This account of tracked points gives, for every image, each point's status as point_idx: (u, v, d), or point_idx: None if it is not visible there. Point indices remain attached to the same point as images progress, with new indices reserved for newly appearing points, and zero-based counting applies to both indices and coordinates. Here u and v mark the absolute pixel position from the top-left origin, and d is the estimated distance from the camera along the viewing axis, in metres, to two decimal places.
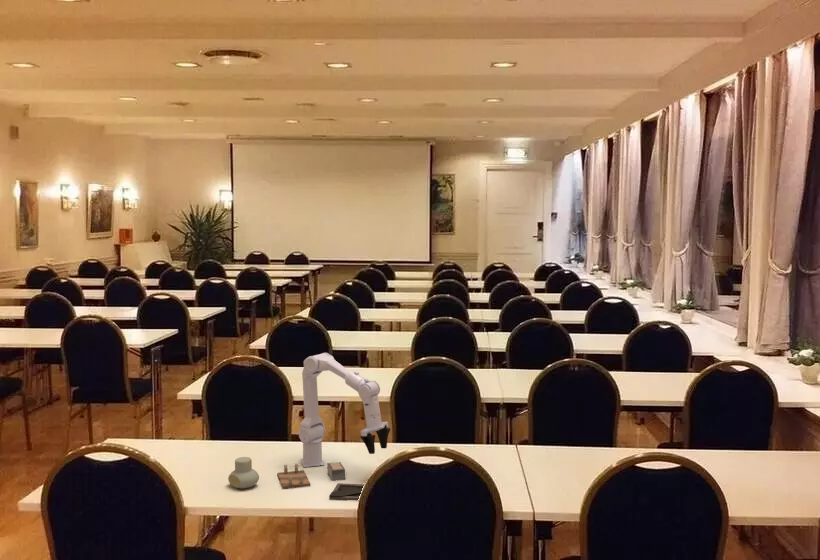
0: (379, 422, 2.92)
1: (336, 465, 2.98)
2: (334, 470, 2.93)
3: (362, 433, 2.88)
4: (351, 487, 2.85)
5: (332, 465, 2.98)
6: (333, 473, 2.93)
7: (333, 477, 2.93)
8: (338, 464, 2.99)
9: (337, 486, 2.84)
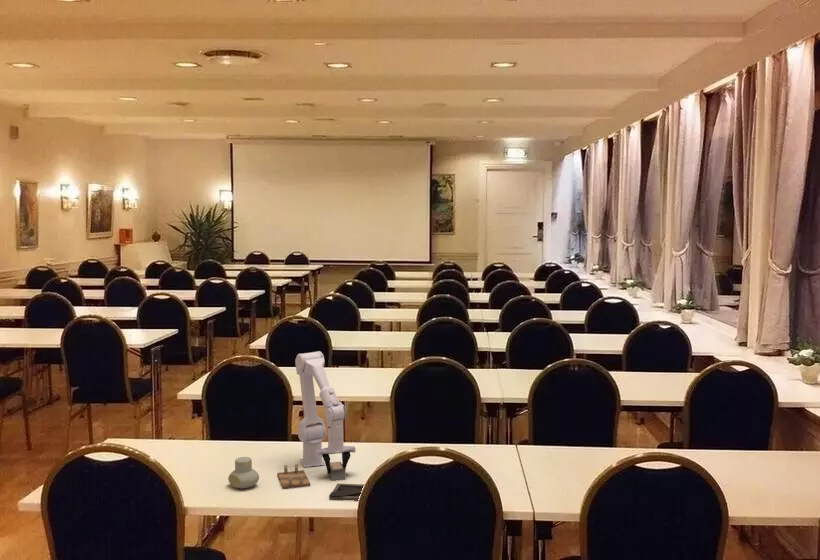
0: (336, 447, 2.94)
1: (336, 464, 2.98)
2: (334, 469, 2.93)
3: (316, 452, 2.95)
4: (351, 487, 2.84)
5: (332, 464, 2.98)
6: (333, 472, 2.93)
7: (333, 476, 2.93)
8: (338, 463, 2.99)
9: (337, 486, 2.84)
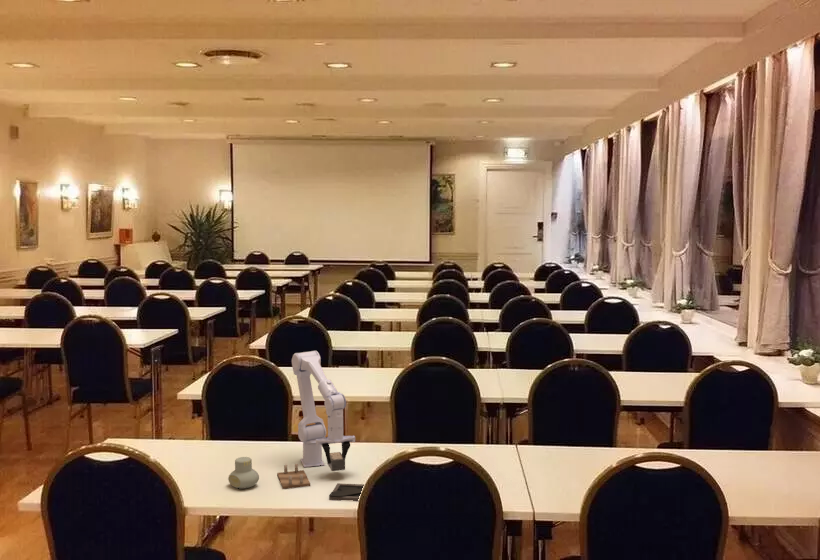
0: (336, 436, 2.94)
1: (336, 455, 2.98)
2: (334, 460, 2.93)
3: (316, 441, 2.95)
4: (351, 487, 2.84)
5: (332, 455, 2.98)
6: (333, 463, 2.92)
7: (333, 467, 2.93)
8: (338, 454, 2.99)
9: (337, 486, 2.84)
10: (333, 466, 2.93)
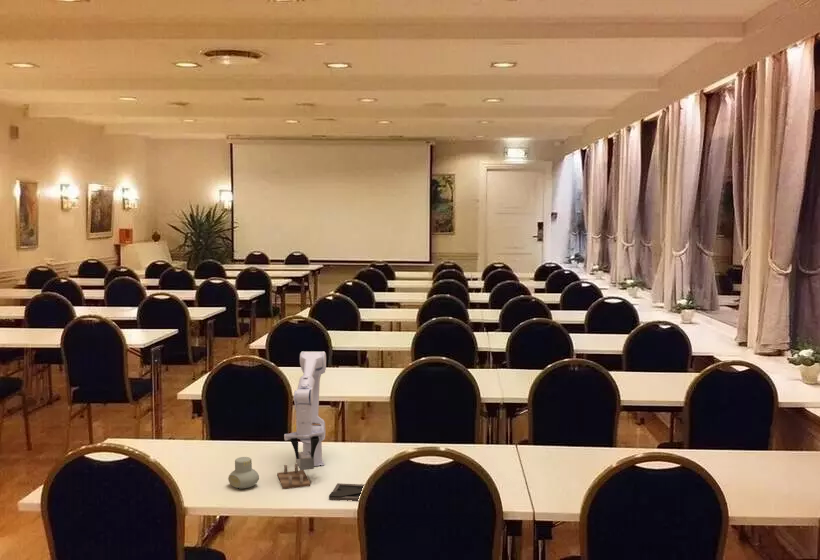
0: (304, 431, 2.90)
1: (305, 454, 2.94)
2: (302, 459, 2.89)
3: (284, 436, 2.91)
4: (351, 487, 2.84)
5: (301, 454, 2.94)
6: (301, 462, 2.89)
7: (301, 466, 2.89)
8: (307, 453, 2.95)
9: (337, 486, 2.84)
10: (302, 465, 2.89)
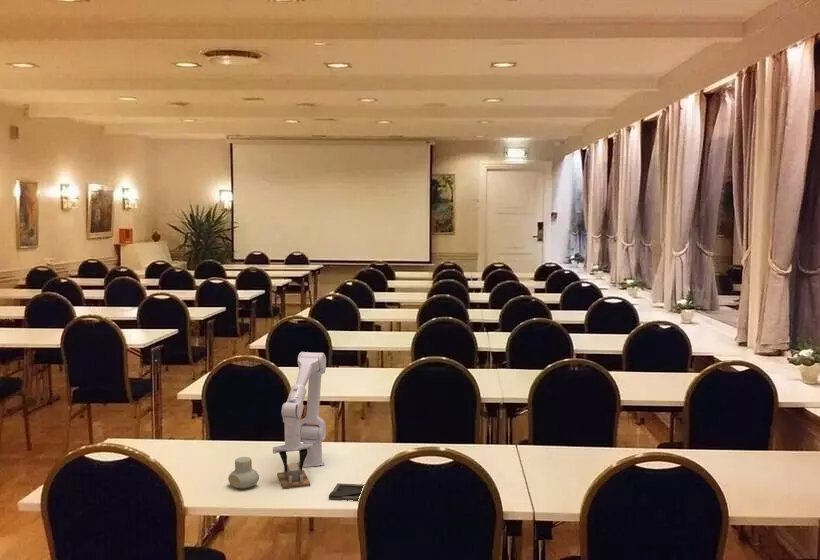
0: (293, 444, 2.89)
1: (293, 466, 2.93)
2: (291, 471, 2.89)
3: None
4: (351, 487, 2.84)
5: (289, 466, 2.93)
6: (290, 474, 2.88)
7: None
8: (296, 465, 2.94)
9: (337, 486, 2.84)
10: None
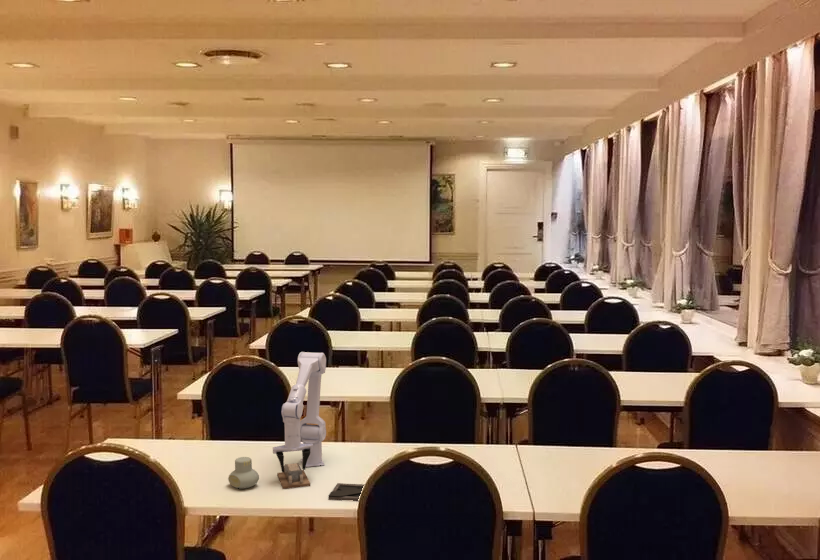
0: (293, 444, 2.89)
1: (293, 466, 2.93)
2: (291, 471, 2.89)
3: None
4: (351, 487, 2.84)
5: (289, 466, 2.93)
6: (290, 474, 2.88)
7: None
8: (296, 465, 2.94)
9: (337, 486, 2.84)
10: None
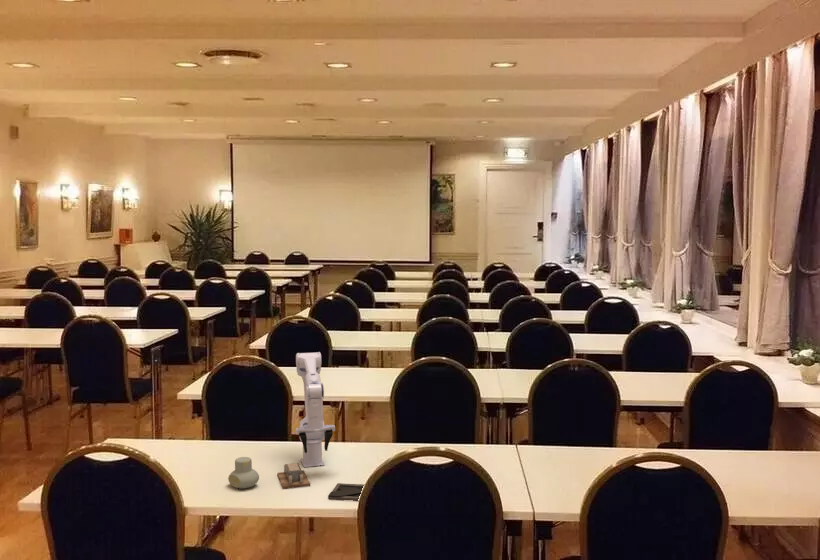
0: (315, 425, 2.94)
1: (293, 466, 2.93)
2: (291, 471, 2.89)
3: None
4: (351, 487, 2.84)
5: (289, 466, 2.93)
6: (290, 474, 2.88)
7: None
8: (296, 465, 2.94)
9: (337, 486, 2.84)
10: None
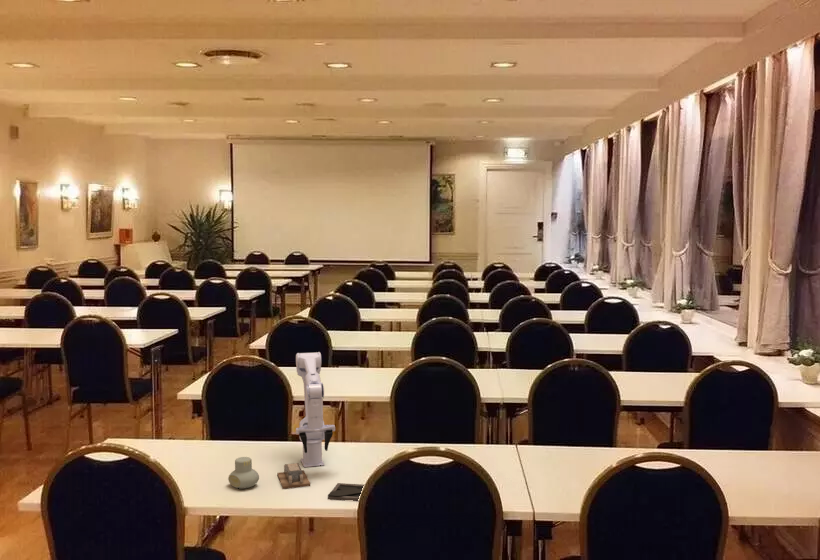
0: (316, 425, 2.94)
1: (293, 466, 2.93)
2: (291, 471, 2.89)
3: (296, 430, 2.95)
4: (351, 487, 2.84)
5: (289, 466, 2.93)
6: (290, 474, 2.88)
7: None
8: (296, 465, 2.94)
9: (337, 486, 2.85)
10: None
